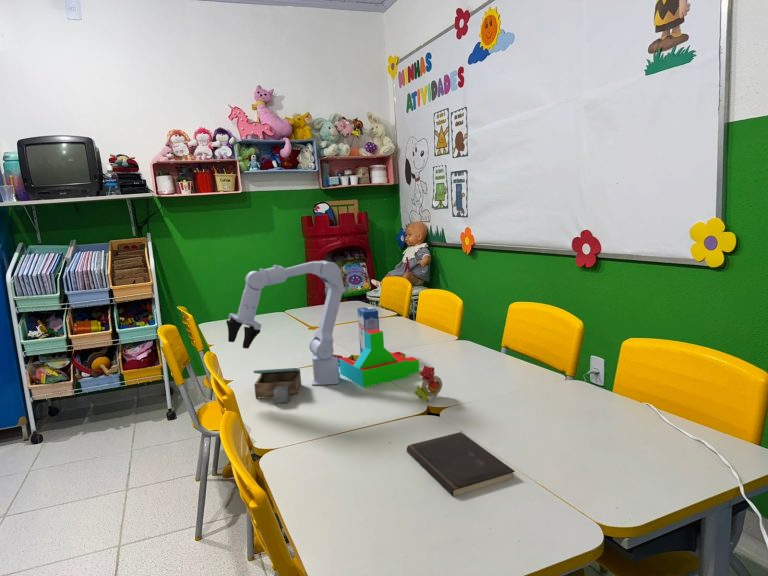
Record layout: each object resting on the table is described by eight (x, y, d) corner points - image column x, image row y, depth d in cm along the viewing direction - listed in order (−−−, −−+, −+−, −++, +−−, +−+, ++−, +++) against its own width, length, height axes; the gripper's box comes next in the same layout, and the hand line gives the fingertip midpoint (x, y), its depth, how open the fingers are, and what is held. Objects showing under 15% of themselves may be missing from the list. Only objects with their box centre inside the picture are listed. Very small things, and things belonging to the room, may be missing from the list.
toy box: (301, 384, 185) (300, 371, 184) (296, 395, 174) (295, 381, 173) (262, 387, 184) (261, 373, 184) (255, 398, 174) (254, 384, 173)
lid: (300, 371, 184) (300, 369, 184) (295, 370, 173) (294, 368, 173) (261, 373, 184) (261, 371, 184) (253, 373, 173) (253, 370, 173)
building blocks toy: (423, 373, 190) (420, 325, 187) (363, 388, 177) (360, 337, 175) (396, 362, 206) (394, 317, 203) (340, 375, 194) (336, 328, 191)
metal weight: (290, 399, 171) (289, 385, 170) (288, 404, 167) (287, 389, 166) (277, 400, 171) (275, 385, 170) (274, 405, 166) (273, 390, 166)
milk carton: (360, 353, 219) (357, 308, 216) (374, 351, 221) (371, 306, 218) (366, 360, 210) (363, 312, 207) (381, 357, 212) (378, 310, 209)
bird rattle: (429, 400, 169) (407, 395, 164) (439, 367, 169) (418, 362, 165) (440, 406, 163) (417, 401, 159) (451, 372, 164) (428, 366, 159)
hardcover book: (461, 439, 136) (461, 431, 135) (514, 480, 115) (514, 470, 114) (406, 454, 130) (406, 445, 129) (452, 499, 109) (452, 489, 108)
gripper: (225, 299, 173) (215, 338, 173) (253, 309, 165) (242, 350, 165) (241, 302, 179) (231, 339, 179) (269, 312, 170) (259, 351, 170)
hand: (238, 344), depth 172 cm, fingers open, 7 cm apart
